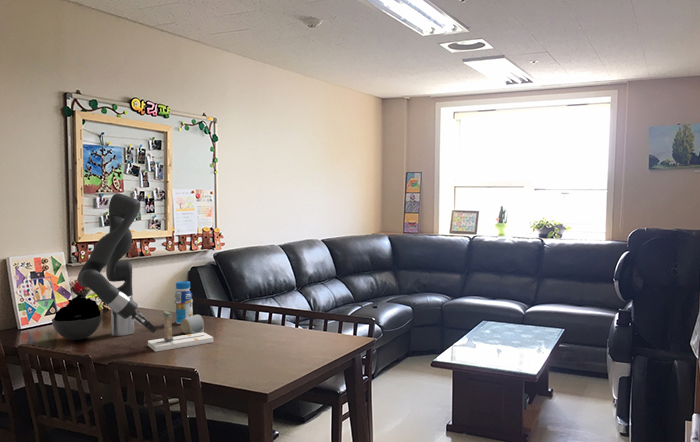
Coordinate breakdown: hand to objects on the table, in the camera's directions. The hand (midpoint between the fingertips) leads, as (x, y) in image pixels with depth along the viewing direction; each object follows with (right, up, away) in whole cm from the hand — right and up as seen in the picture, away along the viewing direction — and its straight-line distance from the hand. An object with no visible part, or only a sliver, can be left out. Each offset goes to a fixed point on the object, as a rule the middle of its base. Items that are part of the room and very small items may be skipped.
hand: (155, 330), depth 238 cm
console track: (+9, -7, +6) cm, 13 cm away
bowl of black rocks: (-40, -8, +19) cm, 45 cm away
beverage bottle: (-1, -5, +48) cm, 48 cm away
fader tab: (+5, -4, +3) cm, 7 cm away
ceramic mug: (+9, -6, +25) cm, 28 cm away
